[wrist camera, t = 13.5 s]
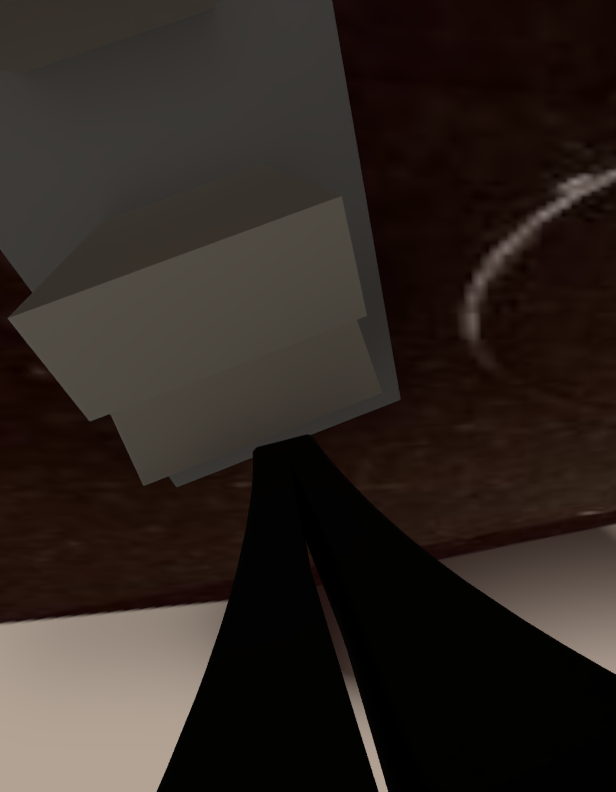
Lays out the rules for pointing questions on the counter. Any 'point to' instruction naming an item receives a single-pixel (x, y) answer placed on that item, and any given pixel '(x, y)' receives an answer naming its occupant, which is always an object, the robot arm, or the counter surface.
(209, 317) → the domino
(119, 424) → the domino
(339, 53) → the mat
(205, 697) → the robot arm
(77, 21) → the domino
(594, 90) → the counter surface
